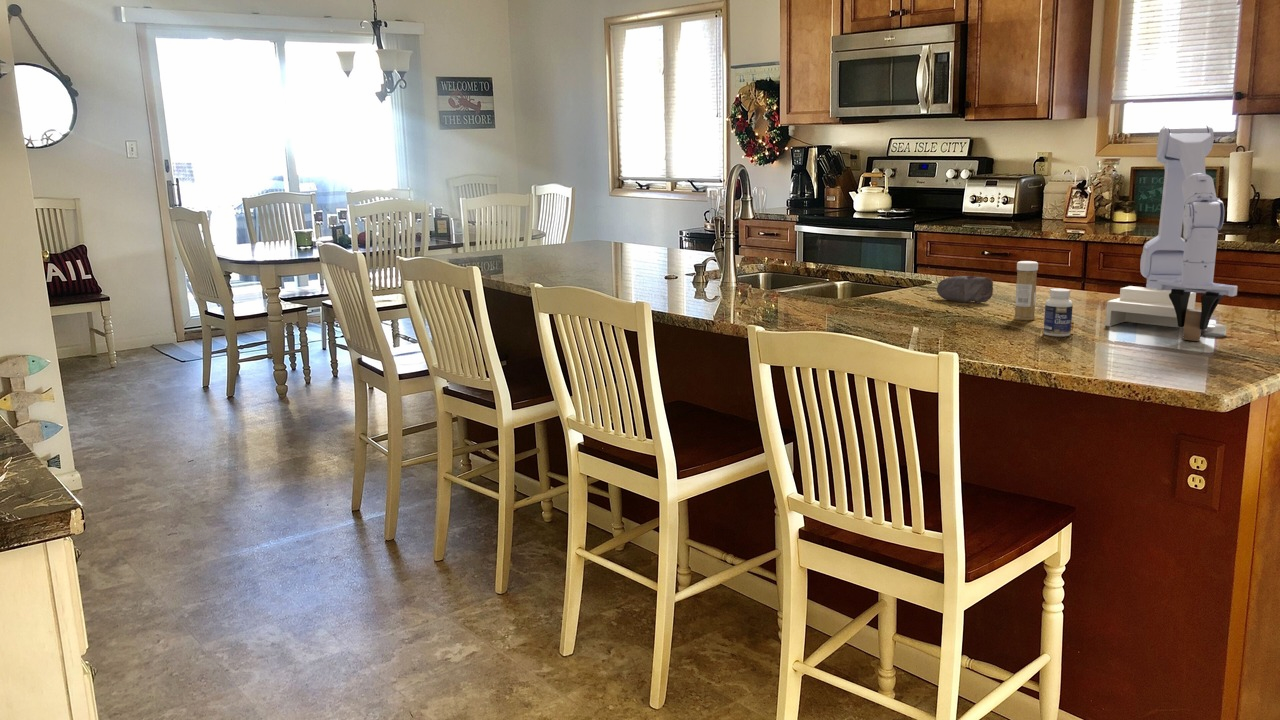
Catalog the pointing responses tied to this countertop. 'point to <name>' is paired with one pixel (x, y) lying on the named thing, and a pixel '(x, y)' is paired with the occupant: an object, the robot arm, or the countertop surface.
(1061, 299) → the pill bottle
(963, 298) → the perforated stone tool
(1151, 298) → the stepped stand
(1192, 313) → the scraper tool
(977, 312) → the countertop surface
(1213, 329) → the steel puck
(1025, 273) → the sprinkles bottle
